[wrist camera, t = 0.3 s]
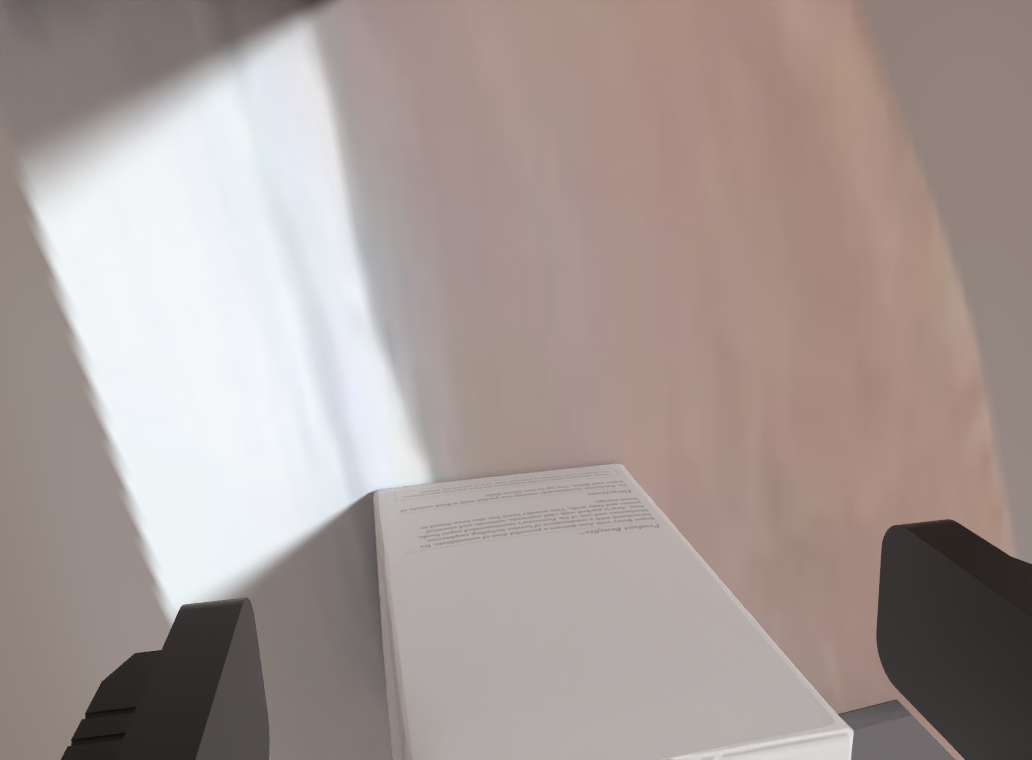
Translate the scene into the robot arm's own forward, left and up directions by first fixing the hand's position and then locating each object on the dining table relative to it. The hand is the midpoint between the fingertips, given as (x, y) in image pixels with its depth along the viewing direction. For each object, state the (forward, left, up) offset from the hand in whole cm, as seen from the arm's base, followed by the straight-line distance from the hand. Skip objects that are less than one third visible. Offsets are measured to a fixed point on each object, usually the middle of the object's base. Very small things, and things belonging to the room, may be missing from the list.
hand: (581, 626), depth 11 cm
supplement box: (+10, +1, -19) cm, 21 cm away
